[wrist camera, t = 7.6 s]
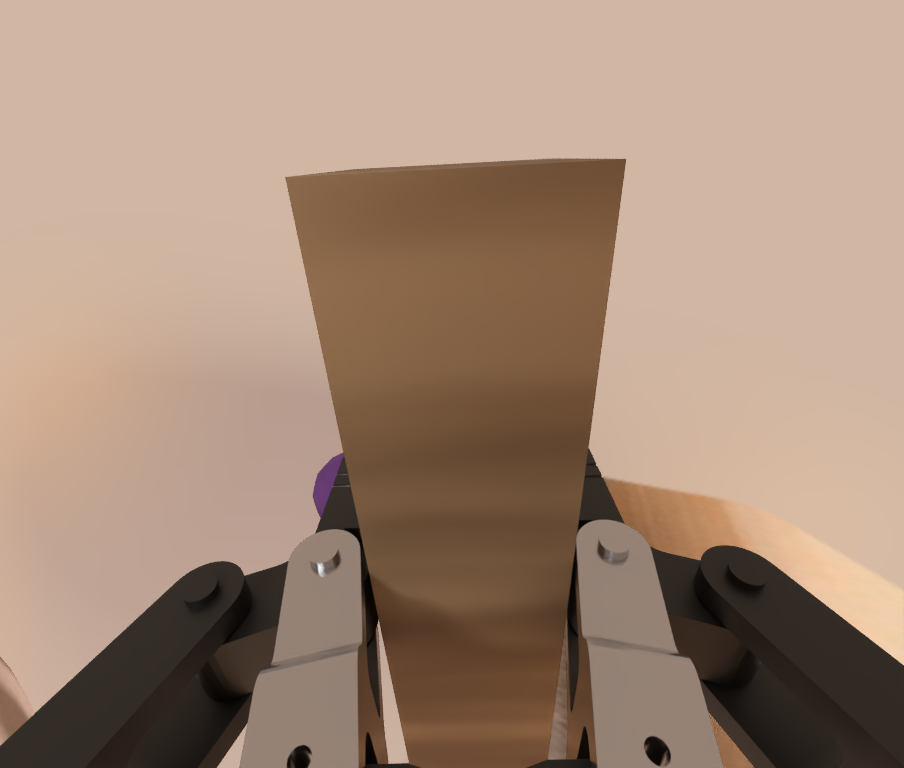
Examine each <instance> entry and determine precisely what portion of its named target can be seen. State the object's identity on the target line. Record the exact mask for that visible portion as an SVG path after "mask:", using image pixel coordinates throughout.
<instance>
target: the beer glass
mask: <svg viewBox="0 0 904 768" xmlns="http://www.w3.org/2000/svg"><path fill="white" fill-rule="evenodd" d="M34 714H35V713H34V711H33V709H32V707H31V705H30V703H29V700H28V698H27V696H26V694H25V693H24V691H23V689H22V688H21V686H20V684H19V683H18V681H17V679H16V677H15V676H14V674H13V672H12V671H11V669H10V668H9V667H8V665H7V664H6V663H5V662H4V661H3V660H2V659H1V657H0V745H2V744H3V743H4V742H5V741H6V740H7V739H8V738H9V737H10V736H11V735H12V734H13V733H14V732H16V731H17V730H18V729H19V728H20V727H21V726H22V725H23V724H24V723H25V722H26V721H27V720H28V719H30V718H31V717H32V716H33V715H34Z"/></svg>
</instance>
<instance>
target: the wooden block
mask: <svg viewBox="0 0 904 768" xmlns="http://www.w3.org/2000/svg"><path fill="white" fill-rule="evenodd" d="M625 163H626V159H537V160H518V161H500V162H481V163H462V164H444V165H425V166H407V167H389V168H370V169H353V170H346V171H345V170H344V171H335V172H327V173H319V174H310V175H302V176H293V177H286V182H287V187H288V192H289V196H290V201H291V206H292V211H293V216H294V220H295V225H296V230H297V235H298V239H299V244H300V248H301V253H302V258H303V263H304V268H305V272H306V277H307V282H308V286H309V291H310V296H311V301H312V305H313V310H314V315H315V319H316V324H317V329H318V334H319V339H320V343H321V348H322V353H323V358H324V362H325V367H326V372H327V376H328V381H329V385H330V390H331V395H332V400H333V404H334V410H335V414H336V419H337V424H338V428H339V433H340V438H341V442H342V447H343V452H344V457H345V462H346V466H347V471H348V476H349V481H350V485H351V490H352V495H353V499H354V504H355V509H356V514H357V518H358V523H359V528H360V533H361V537H362V542H363V547H364V551H365V556H366V561H367V566H368V570H369V575H370V580H371V585H372V589H373V594H374V599H375V604H376V608H377V613H378V618H379V622H380V627H381V632H382V636H383V641H384V646H385V651H386V656H387V660H388V664H389V670H390V674H391V679H392V684H393V689H394V693H395V698H396V703H397V708H398V712H399V717H400V722H401V727H402V731H403V736H404V740H405V745H406V750H407V755H408V760H409V764H412V765H415V766H418V767H421V768H527V767H529V766H532V765H535V764H537V763H540V762H542V761H545V760H548V752H549V745H550V737H551V729H552V722H553V714H554V706H555V699H556V691H557V683H558V676H559V668H560V661H561V653H562V645H563V638H564V630H565V622H566V615H567V607H568V599H569V592H570V584H571V576H572V569H573V561H574V553H575V546H576V538H577V531H578V523H579V515H580V508H581V500H582V492H583V485H584V477H585V469H586V462H587V454H588V446H589V439H590V431H591V423H592V416H593V408H594V401H595V392H596V385H597V378H598V369H599V362H600V354H601V347H602V339H603V332H604V324H605V316H606V308H607V301H608V293H609V286H610V277H611V270H612V263H613V255H614V248H615V240H616V232H617V225H618V217H619V209H620V201H621V194H622V186H623V179H624V171H625Z"/></svg>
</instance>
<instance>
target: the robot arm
mask: <svg viewBox="0 0 904 768" xmlns="http://www.w3.org/2000/svg"><path fill="white" fill-rule="evenodd" d="M378 619H379V618H378V613H377V608H376V604H375V599H374V594H373V589H372V585H371V580H370V575H369V570H368V566H367V561H366V556H365V551H364V547H363V542H362V537H361V533H360V528H359V523H358V518H357V514H356V509H355V504H354V499H353V495H352V490H351V485H350V481H349V476H348V471H347V466H346V462H345V457H343V459H342V461H341V464H340V466H339V469H338V472H337V476H336V478H335V480H334V483H333V488H332V489H331V491H330V494H329V497H328V500H327V503H326V505H325V508H324V511H323V514H322V516H321V519H320V522H319V525H318V528H317V530H316V533H315V534H314V535H312V536H310V537H308V538H307V539H305V540H304V541H303V542H301V543H300V544H299V545H298V546H297V547H296V548H295V550H294V551H293V553H292V555H291V557H290V559H289V561H287V562H286V563H283V564H281V565H278V566H276V567H272V568H269V569H266V570H263V571H259V572H256V573H253V574H249V575H246V576H244V574H243V572H242V570H241V568H240V567H239V566H237V565H236V564H234V563H231V562H225V561H221V562H213V563H209V564H206V565H203V566H201V567H198V568H196V569H194V570H192V571H191V572H189V573H187V574H186V575H185V576H183V577H182V578H181V579H179V581H177V582H176V583H175V584H174V585H173V586H172V587H171V588H170V589H168V590H167V591H166V592H165V593H164V594H163V595H162V596H161V597H160V598H159V599H158V600H157V601H156V602H154V603H153V604H152V605H151V606H150V607H149V608H148V609H147V610H146V611H145V612H144V613H143V614H142V615H141V616H139V617H138V618H137V619H136V620H135V621H134V622H133V623H132V624H131V625H130V626H129V627H127V629H126V630H124V631H123V632H122V633H121V634H120V635H119V636H118V637H117V638H116V639H115V640H113V641H112V642H111V643H110V644H109V645H108V646H107V647H106V648H105V649H104V650H103V651H102V652H101V653H100V654H99V655H97V656H96V657H95V658H94V659H93V660H92V661H91V662H90V663H89V664H88V665H87V666H86V667H84V668H83V669H82V670H81V671H80V672H79V673H78V674H77V675H76V676H75V677H74V678H73V679H72V680H70V681H69V682H68V683H67V684H66V685H65V686H64V687H63V688H62V689H61V690H60V691H59V692H58V693H56V694H55V695H54V696H53V697H52V698H51V699H50V700H49V701H48V702H47V703H46V704H45V705H44V706H42V707H41V708H40V709H39V710H38V711H37V712H36V713H35V714H34V715H33V716H32V717H31V718H30V719H28V720H27V721H26V722H25V723H24V724H23V725H22V726H21V727H20V728H19V729H18V730H17V731H16V732H14V733H13V734H12V735H11V736H10V737H9V738H8V739H7V740H6V741H5V742H4V743H3V744H2V745H0V768H217V766H218V765H219V763H220V762H221V761H222V759H223V758H224V756H225V755H226V753H227V752H228V750H229V749H230V748H231V746H232V745H233V743H234V742H235V740H236V739H237V737H238V736H239V734H240V733H241V732H242V730H243V729H244V727H245V726H246V724H247V729H246V734H245V740H244V745H243V751H242V756H241V761H240V767H239V768H421V767H418V766H415V765H412V764H409V763H403V764H388V756H387V748H386V740H385V732H384V721H383V704H382V687H381V669H380V651H379V635H378V627H377V624H378ZM565 641H566V676H567V711H568V732H567V754H566V760H545V761H542V762H540V763H537V764H535V765H532V766H529V767H527V768H724V767H723V763H722V760H721V756H720V752H719V749H718V745H717V742H716V738H715V734H714V731H713V727H712V724H711V720H710V717H709V713H710V714H711V715H712V716H713V717H714V719H715V720H716V721H717V722H718V723H719V725H720V726H721V727H722V728H723V730H724V731H725V732H726V733H727V734H728V736H729V737H730V738H731V739H732V740H733V742H734V743H735V744H736V745H737V747H738V748H739V749H740V750H741V751H742V753H743V754H744V755H745V756H746V757H747V759H748V760H749V761H750V762H751V764H752V765H753V766H754V767H755V768H904V665H902V664H901V663H900V662H899V661H897V660H896V659H895V658H893V657H892V656H891V655H890V654H888V653H887V652H886V651H884V650H883V649H882V648H880V647H879V646H878V645H877V644H875V643H874V642H873V641H871V640H870V639H869V638H868V637H866V636H865V635H864V634H862V633H861V632H860V631H859V630H857V629H856V628H855V627H853V626H852V625H851V624H849V623H848V622H847V621H846V620H844V619H843V618H842V617H840V616H839V615H838V614H837V613H835V612H834V611H833V610H831V609H830V608H829V607H828V606H826V605H825V604H824V603H822V602H821V601H820V600H818V599H817V598H816V597H815V596H813V595H812V594H811V593H809V592H808V591H807V590H806V589H804V588H803V587H802V586H800V585H799V584H798V583H796V582H795V581H794V580H793V579H791V578H790V577H789V576H787V575H786V574H785V573H784V572H782V571H781V570H780V569H778V568H777V567H776V566H775V565H773V564H772V563H771V562H769V561H768V560H766V559H765V558H763V557H761V556H760V555H758V554H756V553H753V552H751V551H749V550H746V549H743V548H739V547H735V546H715V547H712V548H710V549H708V550H707V551H706V552H705V553H704V554H703V556H702V558H701V560H700V561H699V560H695V559H690V558H686V557H682V556H677V555H673V554H669V553H665V552H661V551H659V550H656V549H654V548H652V547H650V546H649V544H648V542H647V541H646V540H645V538H644V537H643V536H642V535H641V534H640V533H639V532H637V531H636V530H635V529H633V528H631V527H630V526H628V525H625V523H624V522H623V519H622V517H621V515H620V513H619V511H618V509H617V507H616V505H615V503H614V500H613V498H612V496H611V494H610V492H609V490H608V488H607V486H606V484H605V481H604V479H603V478H602V477H601V473H600V471H599V469H598V467H597V466H596V462H595V461H594V458H593V456H592V454H591V452H590V450H589V449H588V454H587V462H586V469H585V477H584V485H583V492H582V500H581V508H580V515H579V523H578V531H577V538H576V546H575V553H574V561H573V569H572V576H571V584H570V592H569V599H568V607H567V615H566V622H565ZM708 711H709V713H708Z"/></svg>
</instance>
